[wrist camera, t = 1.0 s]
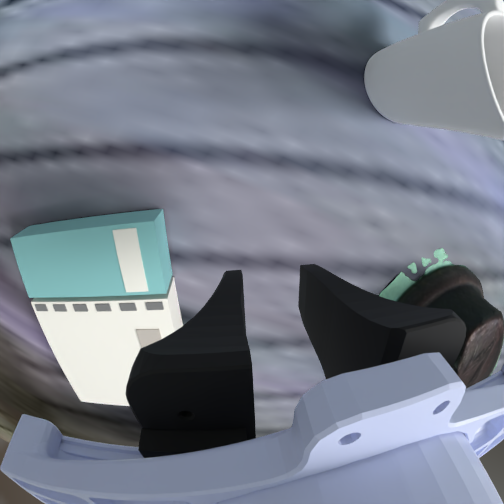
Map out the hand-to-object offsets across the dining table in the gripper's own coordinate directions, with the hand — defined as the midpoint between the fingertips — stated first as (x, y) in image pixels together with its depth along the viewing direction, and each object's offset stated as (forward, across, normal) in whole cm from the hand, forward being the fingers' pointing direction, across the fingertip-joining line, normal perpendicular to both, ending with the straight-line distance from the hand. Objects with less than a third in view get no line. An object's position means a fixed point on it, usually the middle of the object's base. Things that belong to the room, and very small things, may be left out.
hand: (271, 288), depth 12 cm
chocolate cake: (+10, -20, +13) cm, 26 cm away
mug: (+10, -12, -12) cm, 20 cm away
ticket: (+9, +12, +10) cm, 18 cm away
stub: (+9, +12, +1) cm, 15 cm away
